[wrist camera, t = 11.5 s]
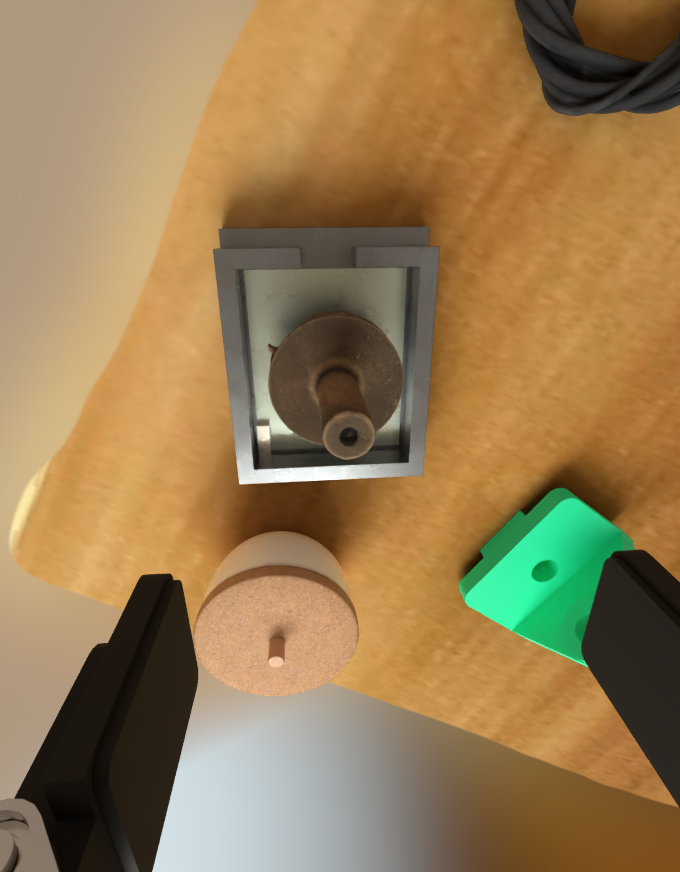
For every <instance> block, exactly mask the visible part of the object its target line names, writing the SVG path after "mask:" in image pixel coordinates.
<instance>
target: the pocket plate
mask: <svg viewBox="0 0 680 872" xmlns="http://www.w3.org/2000/svg"><path fill="white" fill-rule="evenodd" d="M428 235H429V227H342V228H231V229H219V238H220V247H221V248H217V249H213V254H214V262H215V271H216V280H217V289H218V298H219V307H220V316H221V325H222V334H223V343H224V352H225V361H226V370H227V379H228V387H229V396H230V405H231V414H232V423H233V432H234V441H235V450H236V459H237V468H238V477H239V484H255V483H276V482H297V481H318V480H339V479H360V478H382V477H403V476H423V469H424V455H425V442H426V428H427V414H428V400H429V387H430V373H431V359H432V345H433V332H434V318H435V304H436V290H437V277H438V263H439V249H440V246H429V245H428ZM327 311H343V312H349V313H353V314H357V315H360V316H362V317H364V318H366V319H368V320H369V321H371V322H372V323H374V324H375V325H376V326H378V327H379V328H380V329H381V330H382V331H383V332H384V334H385V335H386V336H387V337H388V338H389V340H390V341H391V342H392V344H393V345H394V347H395V348H396V350H397V352H398V354H399V357H400V359H401V363H402V367H403V374H404V384H403V391H402V396H401V399H400V402H399V405H398V407H397V409H396V411H395V412H394V414H393V415H392V417H391V418H390V420H389V421H388V422H387V423H386V424H385V425H384V426H383V427H382V428H381V429H380V430H378V431H377V432H376V437H375V440H374V443H373V445H372V447H371V448H370V449H369V450H368V452H367V453H365V454H363V455H362V456H360V457H358V458H353V459H347V460H346V459H341V458H339V457H336V456H334V455H333V454H331V453H330V452H329V451H328V449H327V448H326V447H325V445H319V444H315V443H313V442H310V441H307V440H305V439H303V438H301V437H299V436H298V435H296V434H295V433H293V432H292V431H291V430H290V429H289V428H288V427H287V426H286V425H285V424H284V423H283V422H282V421H281V420H280V418H279V416H278V415H277V413H276V412H275V410H274V407H273V406H272V402H271V399H270V395H269V389H268V376H269V370H270V360H271V354H272V353H271V352H270V351H269V350H268V349H267V348H268V343H269V344H271V345H273V346H275V347H277V346H278V347H279V345H280V344H281V343H282V341H283V340H284V339H285V338H286V337H287V336H288V335H289V334H290V333H291V332H292V331H293V330H294V329H296V328H297V327H298V326H300V325H301V324H302V323H304V322H305V321H307V320H308V319H310V318H311V316H312V315H314V314H317V313H322V312H327Z"/></svg>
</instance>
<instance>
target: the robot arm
mask: <svg viewBox="0 0 680 872" xmlns="http://www.w3.org/2000/svg"><path fill="white" fill-rule="evenodd" d="M581 651H582V656H583V658H584V661H585V663H586V664H587V666H588V667H589V669H590V670H591V672H592V674H593V675H594V677H595V678H596V680H597V681H598V683H599V684H600V686H601V687H602V689H603V690H604V692H605V694H606V695H607V697H608V698H609V700H610V701H611V703H612V704H613V706H614V707H615V709H616V710H617V712H618V714H619V715H620V717H621V718H622V720H623V721H624V723H625V724H626V726H627V727H628V729H629V731H630V732H631V734H632V735H633V737H634V738H635V740H636V741H637V743H638V744H639V746H640V747H641V749H642V751H643V752H644V754H645V755H646V757H647V758H648V760H649V761H650V763H651V764H652V766H653V768H654V769H655V771H656V772H657V774H658V775H659V777H660V778H661V780H662V781H663V783H664V784H665V786H666V788H667V789H668V791H669V792H670V794H671V795H672V797H673V798H674V800H675V801H676V803H677V805H678V806H679V808H680V582H679V581H678V580H677V579H676V578H674V577H673V576H672V575H671V574H670V573H669V572H668V571H667V570H666V569H665V568H664V567H663V566H662V565H661V564H660V563H658V562H657V561H656V560H655V559H654V558H653V557H652V556H651V555H650V554H649V553H647V552H646V551H644V550H624V551H615V552H613V553H612V554H611V556H610V558H607V559H606V560H605V562H604V565H603V568H602V572H601V576H600V579H599V583H598V586H597V590H596V594H595V597H594V601H593V604H592V608H591V612H590V615H589V619H588V622H587V626H586V630H585V633H584V637H583V640H582V644H581ZM197 683H198V666H197V661H196V656H195V650H194V645H193V640H192V634H191V629H190V624H189V618H188V613H187V608H186V602H185V597H184V592H183V587H182V583H181V581H180V580H173V576H172V575H171V574H149V575H142V576H141V577H140V579H139V580H138V582H137V584H136V586H135V589H134V591H133V593H132V595H131V597H130V599H129V601H128V603H127V605H126V607H125V609H124V611H123V613H122V616H121V618H120V619H119V621H118V624H117V626H116V628H115V630H114V632H113V634H112V636H111V638H110V640H109V642H108V643H102V644H98V645H96V646H95V647H94V648H93V649H92V651H91V652H90V654H89V656H88V657H87V659H86V661H85V663H84V665H83V667H82V669H81V671H80V673H79V675H78V677H77V679H76V680H75V682H74V684H73V686H72V688H71V690H70V692H69V694H68V696H67V698H66V700H65V702H64V704H63V706H62V707H61V710H60V711H59V713H58V715H57V717H56V719H55V721H54V723H53V725H52V727H51V729H50V731H49V733H48V734H47V736H46V738H45V740H44V742H43V744H42V746H41V748H40V750H39V752H38V754H37V756H36V758H35V760H34V761H33V764H32V765H31V767H30V769H29V771H28V773H27V775H26V777H25V779H24V781H23V783H22V785H21V787H20V789H19V790H18V793H17V794H16V796H15V798H14V799H5V800H1V801H0V872H152V870H153V866H154V862H155V858H156V854H157V850H158V845H159V842H160V837H161V833H162V829H163V825H164V821H165V817H166V812H167V808H168V804H169V800H170V796H171V792H172V787H173V784H174V779H175V776H176V771H177V767H178V763H179V759H180V755H181V751H182V746H183V743H184V739H185V734H186V730H187V726H188V722H189V718H190V714H191V710H192V706H193V702H194V697H195V693H196V689H197Z"/></svg>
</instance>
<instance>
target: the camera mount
mask: <svg viewBox="0 0 680 872" xmlns="http://www.w3.org/2000/svg"><path fill="white" fill-rule="evenodd" d="M624 550H635V549H634V543H633V540H632V539H631V538H630V537H629V536H627V535H626V534H625V533H624V532H623V531H622V530H621V529H620V528H618V527H617V526H616V525H614V524H613V523H612V522H610V521H609V520H608V519H606V518H605V517H604V516H602V515H601V514H600V513H598V512H597V511H596V510H594V509H593V508H591V507H590V506H589V505H587V504H586V503H585V502H583V501H582V500H581V499H579V498H578V497H577V496H575V495H574V494H573V493H571V492H570V491H569V490H567V489H565V488H556V489H554V490H552V491H550V492H549V493H548V494H547V495H546V496H545V497H544V498H543V499H542V500H541V501H540V502H539V503H538V504H537V505H536V506H535V507H534V508H533V509H532V510H531V511H530V512H529V513H528V514H527V515H526V514H525V513H523V512H522V511H519V512H518V513H517V514H516V515H515V516H514V517H513V518H512V519H511V520H510V521H509V522H508V523H507V524H506V525H505V526H504V527H503V528H502V529H501V530H500V531H499V532H498V533H497V534H496V535H495V536H494V537H493V538H492V539H491V540H490V541H489V542H488V543H487V544H486V545H485V546H484V547H483V548H482V549H481V550H480V552H481V553H482V555H483V557H484V558H483V559H482V560H481V561H480V562H479V563H478V564H477V565H476V566H475V567H474V568H473V569H472V570H471V571H470V572H469V573H468V574H467V575H466V576H465V577H464V578H463V579H462V580H461V581H460V584H459V589H460V591H461V593H462V596H463V598H464V600H465V602H466V604H467V605H468V606H469V607H471V608H473V609H475V610H476V611H478V612H480V613H482V614H483V615H485V616H487V617H489V618H490V619H492V620H494V621H496V622H497V623H499V624H501V625H503V626H504V627H506V628H508V629H510V630H511V631H513V632H515V633H517V634H518V635H520V636H522V637H524V638H526V639H528V640H530V641H532V642H534V643H537V644H539V645H541V646H543V647H545V648H547V649H550V650H552V651H554V652H556V653H558V654H561V655H563V656H565V657H567V658H569V659H571V660H574V661H576V662H578V663H580V664H582V665H585V666H587V664H586V663H585V661H584V658H583V656H582V651H581V644H582V640H583V637H584V633H585V630H586V626H587V622H588V619H589V615H590V612H591V608H592V604H593V601H594V597H595V594H596V590H597V586H598V583H599V579H600V576H601V572H602V568H603V565H604V562H605V560H606V559H607V558H610V556H611V554H612V553H613V552H615V551H624ZM587 667H588V666H587Z"/></svg>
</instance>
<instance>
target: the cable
mask: <svg viewBox="0 0 680 872" xmlns="http://www.w3.org/2000/svg"><path fill="white" fill-rule="evenodd" d="M575 2H576V0H515V5H516V9H517V12H518V15H519V18H520V20H521V22H522V24H523V32H524V38H525V42H526V46H527V49H528V52H529V54H530V57H531V58H532V60H533V62H534V64H535V65H536V68H537V71H538V73H539V76H540V78H541V80H542V89H543V94H544V97H545V100H546V102H547V103H548V105H549V106H550V107H551V108H552V109H553V110H554V111H556V112H558V113H560V114H565V115H572V116H579V115H585V114H588V113H594V114H606V113H615V112H620V111H623V110H625V111H628V112H632V113H641V114H650V113H658V112H662V111H666V110H669V109H671V108H674V107H676V106H678V105H680V34H679V35H678V36H677V38H676V39H675V40H674V41H673V42H672V43H671V44H670V45H669V46H668V47H667V48H666V49H665V50H664V51H662V52H661V53H660V55H659V56H657V57H656V58H655V59H654V60H653V61H652V62H640V61H635V60H630V59H626V58H622V57H619V56H616V55H611V54H608V53H606V52H602V51H599V50H597V49H593V48H590V47H587V46H585V45H584V43H583V40H582V38H581V36H580V35H579V32H578V30H577V27H576V25H575V23H574V21H573V18H572V15H573V13H574V7H575Z"/></svg>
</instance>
